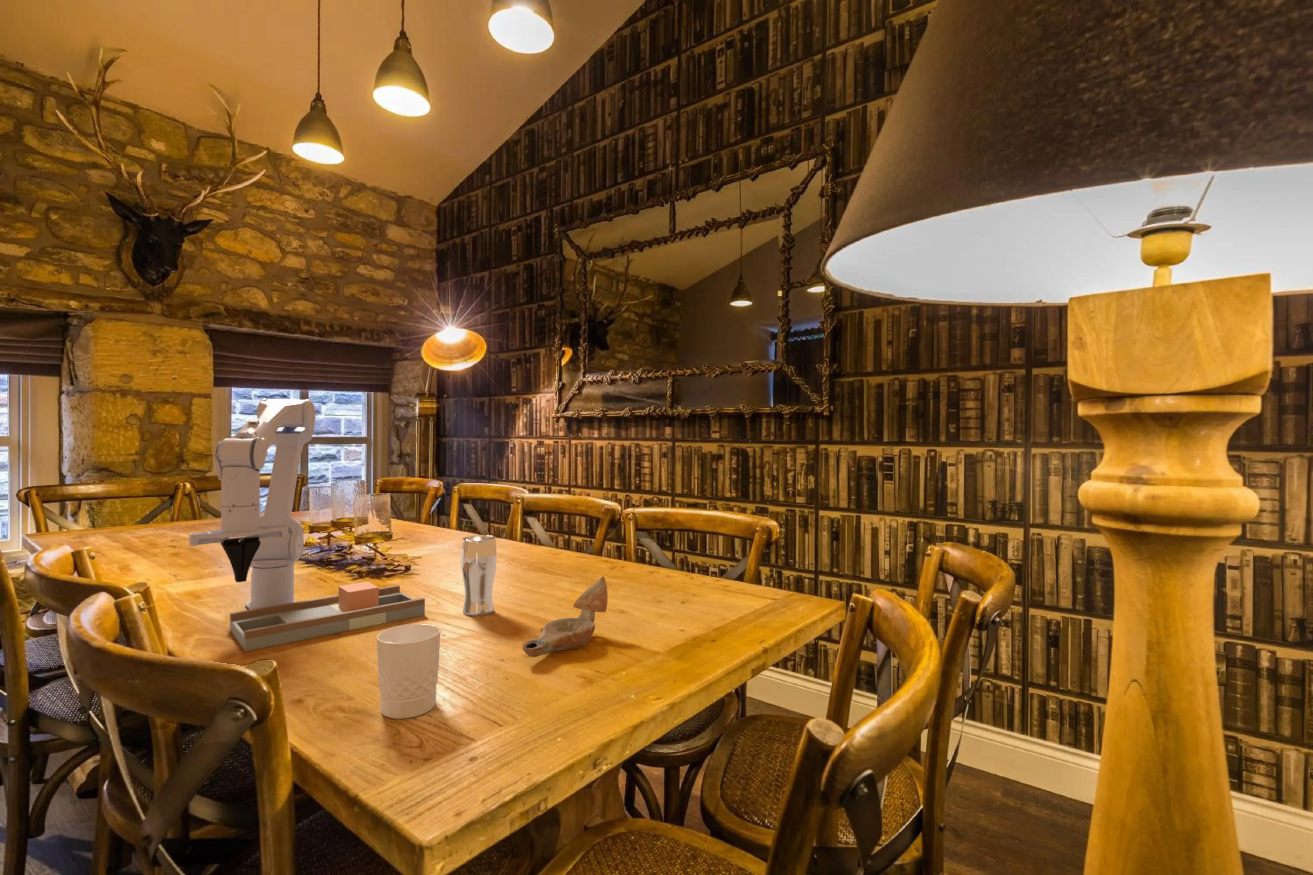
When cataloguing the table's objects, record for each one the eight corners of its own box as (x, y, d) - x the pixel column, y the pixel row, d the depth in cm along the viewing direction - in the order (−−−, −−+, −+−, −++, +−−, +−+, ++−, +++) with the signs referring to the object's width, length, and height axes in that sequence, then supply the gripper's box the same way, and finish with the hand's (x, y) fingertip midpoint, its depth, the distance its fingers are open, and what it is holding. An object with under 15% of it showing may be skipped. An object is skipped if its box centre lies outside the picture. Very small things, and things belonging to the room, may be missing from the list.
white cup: (388, 695, 85) (388, 623, 85) (446, 693, 86) (447, 623, 86) (366, 722, 77) (367, 643, 77) (430, 720, 78) (431, 642, 78)
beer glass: (486, 618, 120) (486, 541, 120) (453, 615, 121) (454, 540, 121) (502, 607, 127) (502, 535, 127) (471, 605, 128) (471, 534, 128)
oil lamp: (622, 633, 112) (622, 579, 112) (545, 672, 94) (545, 607, 94) (584, 625, 116) (584, 573, 116) (503, 661, 98) (504, 599, 98)
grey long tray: (229, 630, 111) (230, 612, 111) (397, 599, 132) (398, 585, 132) (245, 651, 101) (245, 632, 101) (424, 614, 121) (424, 598, 121)
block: (338, 606, 120) (338, 586, 120) (368, 601, 123) (368, 581, 123) (348, 613, 115) (348, 592, 115) (378, 607, 119) (378, 587, 119)
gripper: (193, 510, 101) (193, 592, 102) (292, 504, 111) (292, 578, 112) (187, 506, 106) (187, 584, 107) (282, 500, 116) (282, 571, 117)
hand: (240, 580), depth 109 cm, fingers closed
